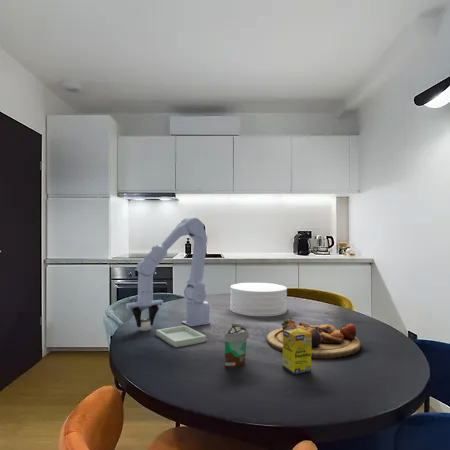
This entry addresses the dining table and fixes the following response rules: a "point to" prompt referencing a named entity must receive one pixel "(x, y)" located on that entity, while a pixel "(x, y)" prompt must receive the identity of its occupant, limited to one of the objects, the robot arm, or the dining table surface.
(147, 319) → the shaker
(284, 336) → the supplement box
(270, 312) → the plate stack
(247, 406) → the dining table surface
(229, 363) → the food container
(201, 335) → the tray
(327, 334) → the wooden plate with food
